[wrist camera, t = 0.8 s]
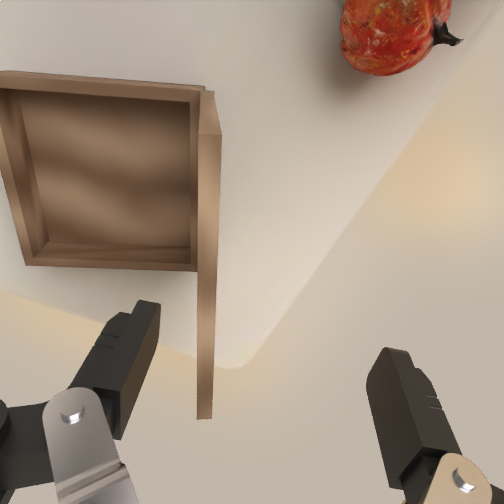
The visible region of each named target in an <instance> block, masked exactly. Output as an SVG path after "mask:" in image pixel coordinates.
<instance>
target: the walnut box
mask: <svg viewBox="0 0 504 504" xmlns="http://www.w3.org/2000/svg"><path fill="white" fill-rule="evenodd" d="M200 90H205V86H197V85H184V84H172V83H159V82H147V81H134V80H121V79H109V78H96V77H84V76H71V75H58V74H46V73H33V72H21V71H8V70H7V71H0V170H1V174H2V178H3V181H4V185H5V189H6V193H7V197H8V200H9V204H10V208H11V212H12V216H13V220H14V223H15V227H16V231H17V235H18V239H19V242H20V246H21V250H22V254H23V258H24V261H25V265H27V266H55V267H82V268H109V269H136V270H164V271H191V272H198V130H199V116H200Z"/></svg>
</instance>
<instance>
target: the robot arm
mask: <svg viewBox="0 0 504 504" xmlns="http://www.w3.org/2000/svg"><path fill="white" fill-rule="evenodd" d="M160 313H161V304H159V303H153V302H148V301H143V300H139V301H138V302H137V304H136V306H135V307H134V309H133V311H132V313H131V314H129V313H124V312H119V313H118V314H117V315H115V316H114V317H113V318H111V319H110V320H109V321H108V322H107V323H106V325H105V327H104V329H103V330H102V332H101V334H100V336H99V337H98V339H97V340H96V342H95V345H94V346H93V347H92V349H91V351H90V352H89V354H88V356H87V357H86V359H85V361H84V362H83V364H82V366H81V368H80V369H79V371H78V373H77V374H76V376H75V378H74V379H73V381H72V383H71V384H70V386H69V387H68V388H67V389H66V390H64V391H62V392H60V393H58V394H57V395H55V396H54V397H53V398H52V399H51V400H50V401H47V402H44V403H41V404H35V405H27V406H19V407H11V408H7V407H6V404H5V403H4V402H3V401H2V400H0V504H8V503H9V501H10V499H11V497H12V495H13V493H14V491H15V489H18V488H23V487H29V486H33V485H39V484H44V483H50V482H55V486H56V492H57V496H58V502H59V504H139V501H138V499H137V496H136V493H135V490H134V487H133V484H132V481H131V478H130V475H129V473H128V470H127V468H126V466H125V464H122V463H121V461H120V458H119V456H118V452H117V449H116V446H115V444H114V441H113V439H115V440H121V438H122V436H123V433H124V430H125V428H126V426H127V423H128V420H129V418H130V415H131V412H132V410H133V407H134V405H135V402H136V400H137V397H138V394H139V392H140V389H141V387H142V384H143V382H144V379H145V376H146V374H147V371H148V369H149V366H150V363H151V361H152V358H153V356H154V353H155V350H156V346H157V343H158V338H159V327H160ZM366 391H367V395H368V400H369V404H370V408H371V412H372V416H373V420H374V425H375V429H376V433H377V437H378V441H379V445H380V449H381V454H382V458H383V462H384V466H385V470H386V474H387V479H388V483H389V487H390V488H395V489H400V490H404V494H405V498H406V499H405V500H404V501H403V502H402V504H504V491H503V490H501V489H499V488H497V487H495V486H493V485H492V484H490V483H489V481H488V480H487V478H486V476H485V475H484V473H483V472H482V471H481V469H480V468H479V467H478V466H477V465H476V464H475V463H473V462H472V461H471V460H469V459H468V458H466V457H464V456H463V455H462V453H461V451H460V448H459V446H458V444H457V441H456V439H455V437H454V434H453V432H452V430H451V427H450V425H449V423H448V420H447V418H446V416H445V413H444V411H443V410H442V406H441V404H440V402H439V400H438V399H437V395H436V392H435V390H434V388H433V385H432V383H431V381H430V380H429V379H428V378H427V376H426V375H425V374H424V373H423V372H422V371H421V369H419V368H415V367H414V365H413V362H412V360H411V357H410V355H409V353H408V352H407V351H403V350H398V349H393V348H388V347H385V348H383V349H382V351H381V352H380V354H379V356H378V358H377V360H376V362H375V363H374V365H373V367H372V369H371V371H370V372H369V374H368V377H367V382H366Z"/></svg>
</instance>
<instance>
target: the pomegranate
mask: <svg viewBox="0 0 504 504" xmlns="http://www.w3.org/2000/svg"><path fill="white" fill-rule="evenodd" d="M450 9H451V0H346V1H345V4H344V9H343V13H342V16H341V20H340V31H341V34H342V37H343V39H342V41H341V44H340V46H341V51H342V53H343V56H344V57H345V59H346V60H347V61H348V62H349V63H350V64H351V65H352V66H353V67H354V68H355V69H358V70H360V71H362V72H365V73H368V74H373V75H374V76H389V75H394V74H397V73H401V72H403V71H405V70H407V69H410V68H412V67H413V66H415V65H416V64H417V63H419V62H420V61H421V60H422V59H423V58H424V57H425V56H426V55H427V54H428V53H429V52H430V50H431V48H432V47H433V46H435V45H437V44H442V43H444V44H449V45H450V46H455V45H457V44H459V43H460V42H461V41H463V40H464V39H458V38H456V37H454V36H453V35H452V34H450V33H449V32H448V28H447V25H446V22H447V20H448V18H449V16H450V12H451V11H450Z"/></svg>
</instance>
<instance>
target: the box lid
mask: <svg viewBox="0 0 504 504" xmlns="http://www.w3.org/2000/svg"><path fill="white" fill-rule="evenodd" d="M221 142H222V134H221V129H220V124H219V119H218V114H217V109H216V105H215V100H214V91H207V90H200V116H199V130H198V290H197V419H198V420H199V419H212V397H213V369H214V340H215V312H216V284H217V255H218V227H219V198H220V170H221Z"/></svg>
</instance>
